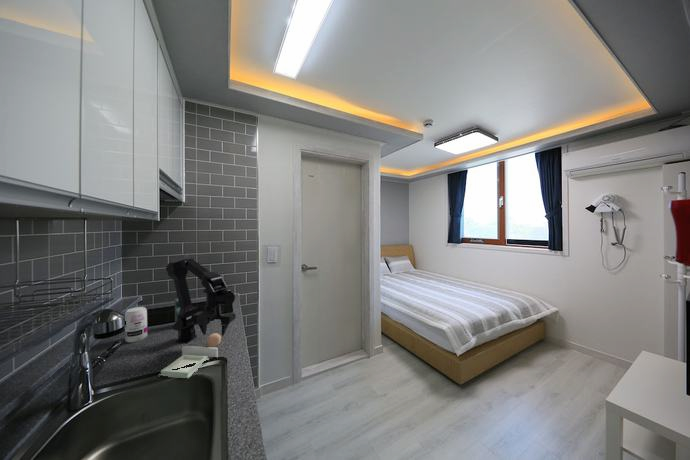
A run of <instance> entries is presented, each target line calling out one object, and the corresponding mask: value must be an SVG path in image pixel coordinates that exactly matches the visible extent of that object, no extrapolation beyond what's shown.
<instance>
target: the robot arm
mask: <svg viewBox="0 0 690 460" xmlns="http://www.w3.org/2000/svg"><path fill="white" fill-rule="evenodd" d="M165 270H166V272H167V275H168V277H169V278H170V279H172V281H173V283H174V287H175V291H176V292H175V293H176V296H177V298H178V301H179V305H180V311H179V314H178V321H177V322H176V323H174V325H173V329H174V331H177V339H176V340H175V343H187V344H188V343H189V342H191V341H192V340H194V339H195V338H197V334H196V329H195V326H198V327H199V328H200V331H201V333H202V335H203V336H205V335H206V334H207V328H208V324H210V322H213V321H215V320H219V321H220V323H219V324H220V326H221V337H224V336H225V333H226V332H227V330H228V328H229V325H230V323H231V322H233V321H235V320H236V318H237V317H236V313H235V312H226V313H225V314H223V310H221V309H222V308H221V306H222V305H223V306H231V305H233V303H234V302H235V299H236V295H235V294H234V292H232V289H229V288H228V285H227V284H226V282H225V280H224V278H223V276H222V275H220V274H219V273H217V272H215V271H214V272H213V271H209V269H206V268H205V267H204V266H203V265H202V264H200V263H198V262H197V261H196V260H195V258H193V257H191V258H184V259H182V260H178V261H173V262H168V264H167V265H166V268H165ZM189 272H190V273H192V274H193V275H194V276H195V277H197V278H198V279H199V280H200V284H201V285H202V286H203V288H204V290H203V291H202V292H203V293H204V294H206V295H205V296H206V297H205V298H206V302H205V303H206V304H205V305H204V307H203V311H199V308H198V307H195V306H194V305H193V303H192V299H191V294H190V291H189V290H190V289H189V286H188V281H187V275H188V273H189Z"/></svg>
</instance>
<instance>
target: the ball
mask: <svg viewBox="0 0 690 460" xmlns="http://www.w3.org/2000/svg"><path fill="white" fill-rule="evenodd" d="M221 342H222V335H220V333H217V332H214V333H212V334H210V335H209V336H208V337H207V338H206V346H207V347H216V348H217V347H218V346H219V345H220V343H221Z"/></svg>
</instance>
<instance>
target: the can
mask: <svg viewBox="0 0 690 460" xmlns="http://www.w3.org/2000/svg"><path fill="white" fill-rule="evenodd" d="M179 311H180V305H179V301H178V297H177V298H175V299H174V322H175V323H176V322H177V321H178V314H179ZM175 323H174V324H175Z"/></svg>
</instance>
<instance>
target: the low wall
mask: <svg viewBox="0 0 690 460" xmlns="http://www.w3.org/2000/svg"><path fill="white" fill-rule="evenodd" d="M182 355H198V356H208V358H213V357H217V358H218V357H219V348H218V347H217V346H216V347H209V346H199V345H198V346H197V345H195V346H194V345H182V346H181V356H182Z"/></svg>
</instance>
